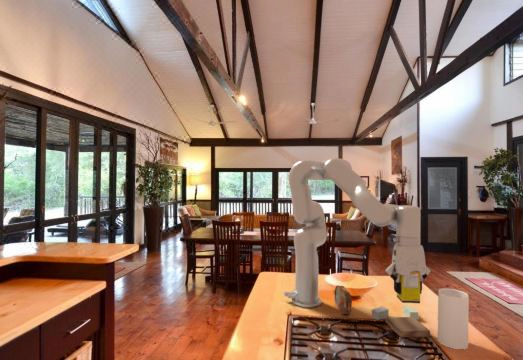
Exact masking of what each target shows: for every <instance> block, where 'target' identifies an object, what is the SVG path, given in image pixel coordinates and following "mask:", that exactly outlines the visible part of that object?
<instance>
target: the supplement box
mask: <svg viewBox="0 0 523 360" xmlns="http://www.w3.org/2000/svg"><path fill="white" fill-rule="evenodd" d="M400 283H401V294H398V293H396V297H397V298H398V300H399V301H400V302H401V303H403V304H421V294H420V271H412V272H410V274H409V275H405V276H401V279H400Z"/></svg>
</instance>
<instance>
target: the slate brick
mask: <svg viewBox="0 0 523 360" xmlns="http://www.w3.org/2000/svg"><path fill="white" fill-rule="evenodd" d="M389 313H390V312H389V309H388V308H386V307H385V306H378V307H376V308H373V309H371V319H375V320H377V321H379V320H382V319H386V317H389Z"/></svg>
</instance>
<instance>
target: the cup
mask: <svg viewBox="0 0 523 360" xmlns="http://www.w3.org/2000/svg"><path fill="white" fill-rule="evenodd" d="M437 294H438V295H437V306H438V307H437V341H438V342H439V343H440V344H441V345H442V346H444V345H445V347H447V348H449V347H450V348H449V349H452V348H453V350H458V349H464V350H467V349H468V348H469V311H470V310H469V303H470V301H469V300H470V297H469V294H468V293H467V292H464V291H462V290H458V289H456V288H448V287H447V288H444V287H443V288H439V289H438V293H437ZM466 348H467V349H466Z"/></svg>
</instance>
